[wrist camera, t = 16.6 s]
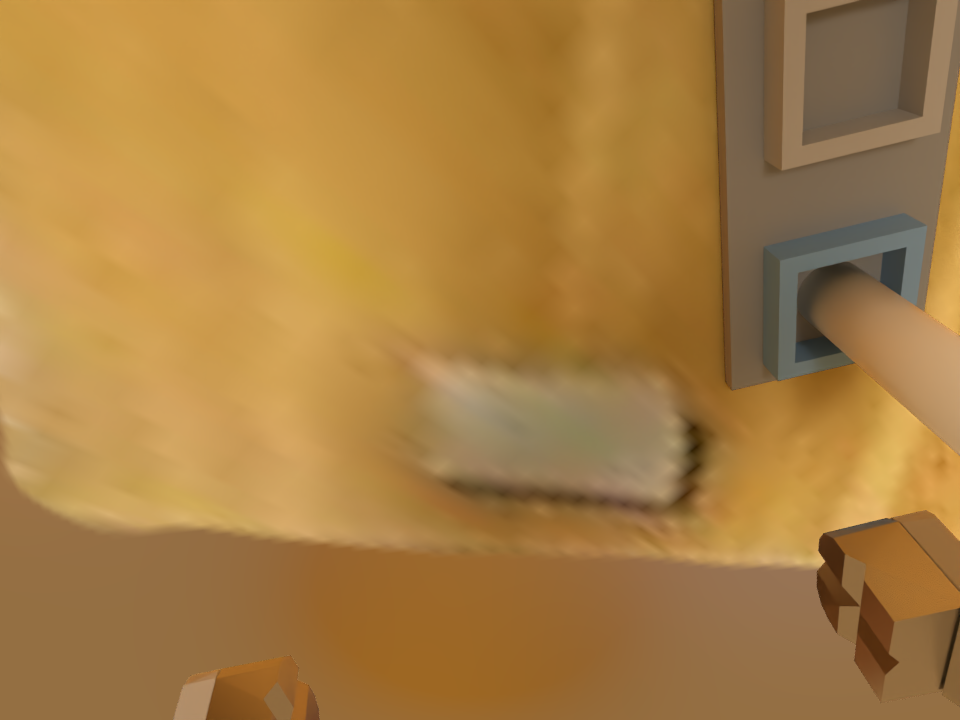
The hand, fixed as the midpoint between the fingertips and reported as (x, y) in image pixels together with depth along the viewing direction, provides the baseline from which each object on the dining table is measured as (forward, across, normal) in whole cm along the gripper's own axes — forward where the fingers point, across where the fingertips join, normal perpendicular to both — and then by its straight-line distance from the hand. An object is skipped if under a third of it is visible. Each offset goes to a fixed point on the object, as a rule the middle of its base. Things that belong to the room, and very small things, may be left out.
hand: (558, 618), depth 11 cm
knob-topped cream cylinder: (+28, -20, +14) cm, 37 cm away
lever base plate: (+29, -20, +7) cm, 36 cm away
